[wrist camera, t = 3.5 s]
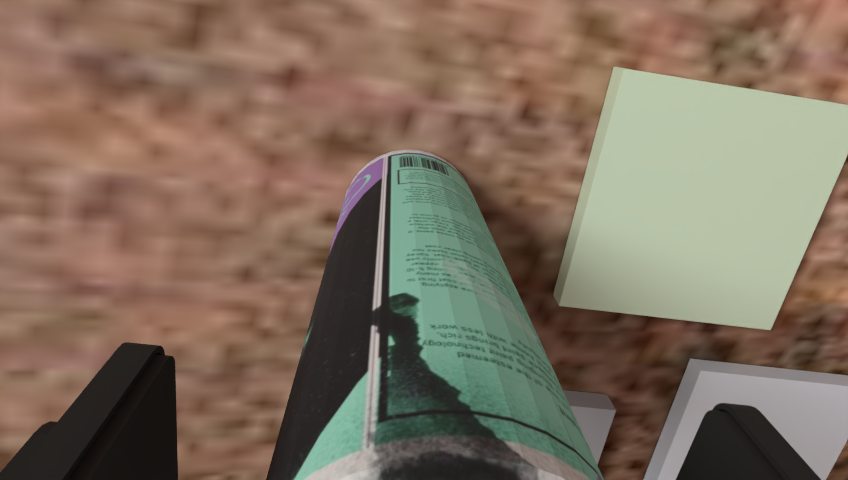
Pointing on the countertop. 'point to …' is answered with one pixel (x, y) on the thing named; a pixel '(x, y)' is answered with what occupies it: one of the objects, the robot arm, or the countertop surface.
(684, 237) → the green tile
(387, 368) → the spray can
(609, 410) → the mounted unit
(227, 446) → the countertop surface
